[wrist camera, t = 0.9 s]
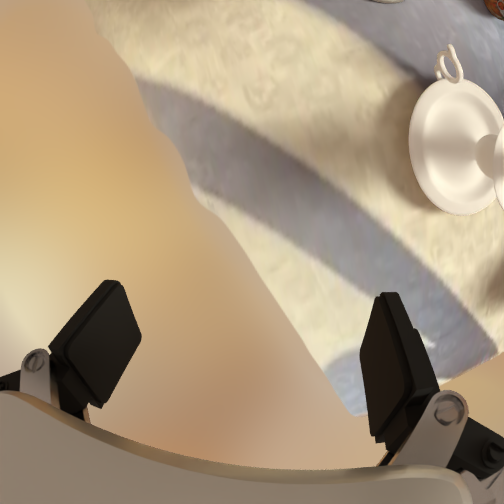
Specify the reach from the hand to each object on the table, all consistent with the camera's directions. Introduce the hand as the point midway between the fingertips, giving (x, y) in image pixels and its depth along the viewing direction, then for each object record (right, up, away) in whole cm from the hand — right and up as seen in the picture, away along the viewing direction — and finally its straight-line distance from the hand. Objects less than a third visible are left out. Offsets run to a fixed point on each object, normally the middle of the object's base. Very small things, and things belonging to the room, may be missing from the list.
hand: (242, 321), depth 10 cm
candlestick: (+30, +20, +20) cm, 41 cm away
